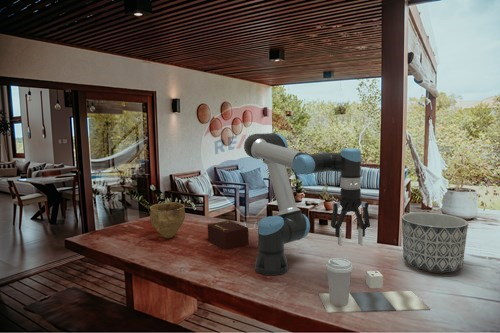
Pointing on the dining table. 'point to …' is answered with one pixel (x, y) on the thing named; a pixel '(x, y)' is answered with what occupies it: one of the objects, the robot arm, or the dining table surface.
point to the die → (374, 279)
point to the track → (376, 302)
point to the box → (228, 235)
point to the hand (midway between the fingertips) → (349, 244)
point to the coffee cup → (339, 280)
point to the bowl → (167, 218)
